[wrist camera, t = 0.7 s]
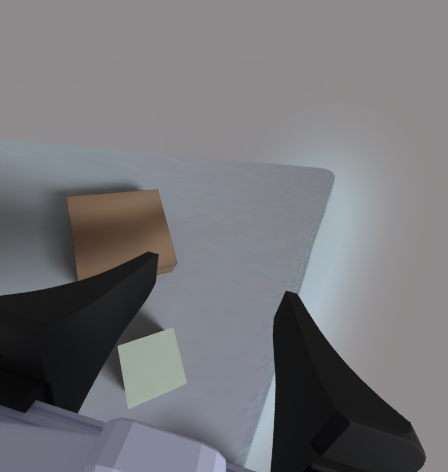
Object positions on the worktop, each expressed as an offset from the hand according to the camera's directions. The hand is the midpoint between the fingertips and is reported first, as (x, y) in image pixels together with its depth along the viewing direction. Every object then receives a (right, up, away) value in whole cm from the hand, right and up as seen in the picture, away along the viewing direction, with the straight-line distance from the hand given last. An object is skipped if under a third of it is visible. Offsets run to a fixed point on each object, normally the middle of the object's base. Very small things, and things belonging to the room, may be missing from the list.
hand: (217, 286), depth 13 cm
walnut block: (-11, +2, +15) cm, 19 cm away
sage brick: (-7, -10, +11) cm, 16 cm away
